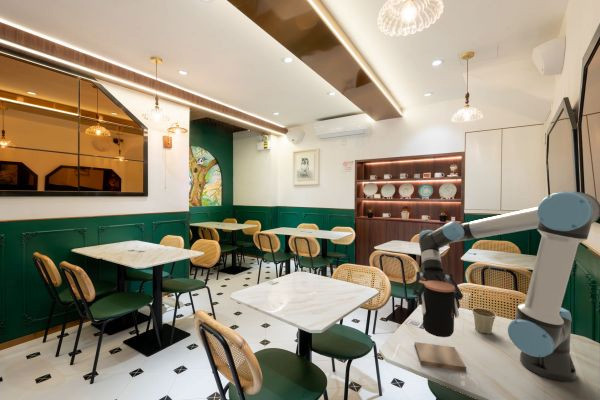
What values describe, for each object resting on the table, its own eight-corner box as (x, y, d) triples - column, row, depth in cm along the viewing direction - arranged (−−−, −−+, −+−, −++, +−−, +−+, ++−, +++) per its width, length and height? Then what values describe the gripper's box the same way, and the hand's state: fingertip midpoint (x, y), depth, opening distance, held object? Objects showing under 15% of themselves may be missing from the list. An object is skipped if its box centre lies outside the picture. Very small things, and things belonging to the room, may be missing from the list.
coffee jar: (457, 339, 99) (459, 291, 98) (426, 336, 101) (427, 288, 101) (448, 325, 110) (449, 281, 109) (419, 322, 112) (421, 279, 111)
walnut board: (454, 350, 110) (454, 347, 110) (466, 371, 97) (466, 367, 97) (414, 345, 113) (414, 341, 113) (420, 364, 101) (420, 360, 100)
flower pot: (495, 329, 128) (495, 311, 128) (496, 338, 120) (497, 318, 120) (471, 323, 133) (472, 306, 133) (471, 332, 125) (471, 313, 125)
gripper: (459, 269, 117) (471, 322, 102) (402, 265, 122) (406, 314, 108) (464, 260, 112) (478, 314, 97) (404, 256, 117) (408, 307, 102)
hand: (440, 314), depth 102 cm, fingers closed on coffee jar, 11 cm apart
